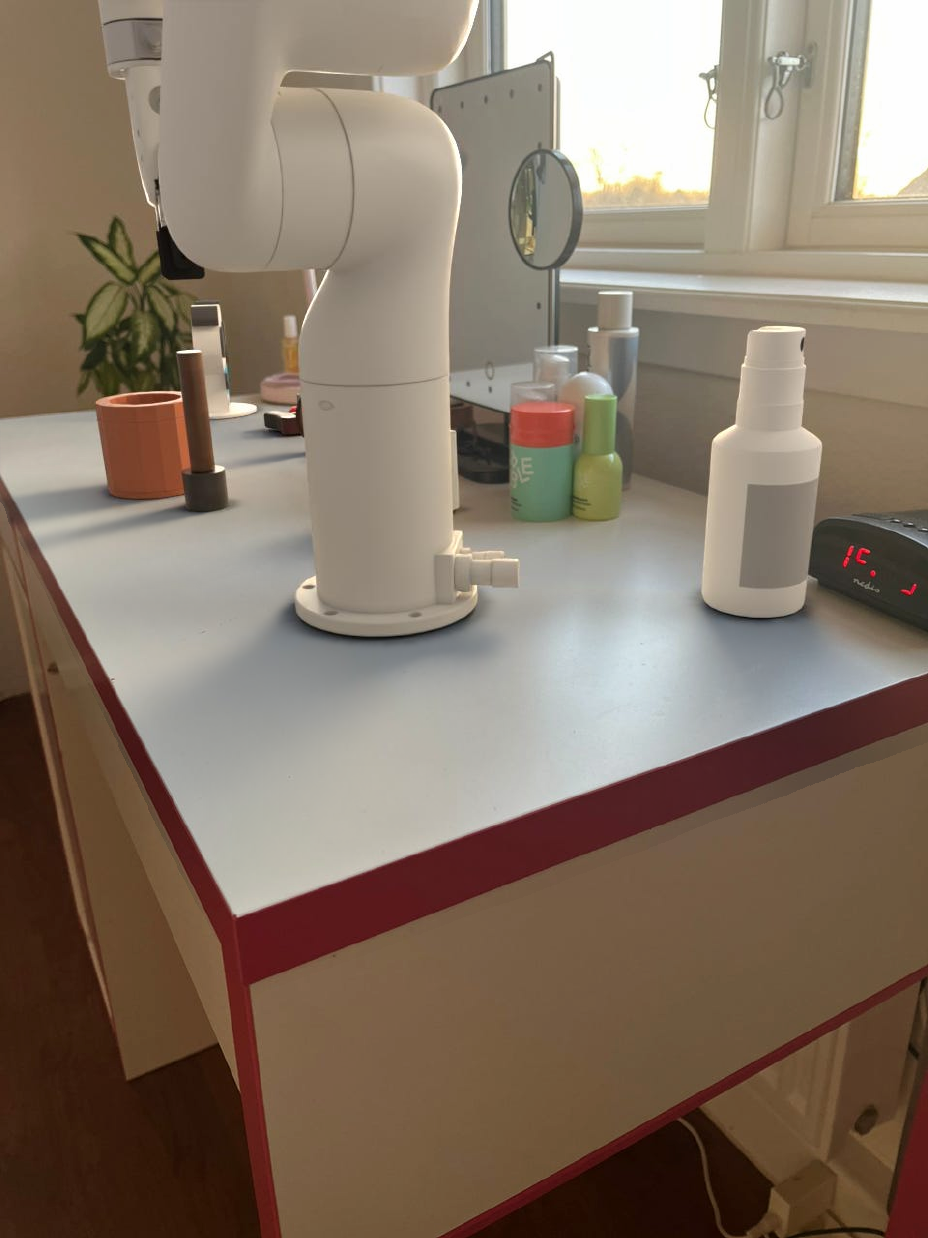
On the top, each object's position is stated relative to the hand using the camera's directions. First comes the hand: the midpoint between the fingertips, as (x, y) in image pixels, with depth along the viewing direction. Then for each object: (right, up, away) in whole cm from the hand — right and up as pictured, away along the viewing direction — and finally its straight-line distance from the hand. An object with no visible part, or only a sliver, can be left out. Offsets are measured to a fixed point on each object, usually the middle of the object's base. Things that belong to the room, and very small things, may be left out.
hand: (182, 278), depth 86 cm
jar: (-7, -16, +15) cm, 23 cm away
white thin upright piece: (+20, -20, +5) cm, 29 cm away
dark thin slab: (+11, -11, +28) cm, 32 cm away
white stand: (-11, 0, +56) cm, 57 cm away
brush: (0, -19, +8) cm, 21 cm away
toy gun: (+5, -5, +44) cm, 44 cm away
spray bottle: (+44, -29, -19) cm, 56 cm away
